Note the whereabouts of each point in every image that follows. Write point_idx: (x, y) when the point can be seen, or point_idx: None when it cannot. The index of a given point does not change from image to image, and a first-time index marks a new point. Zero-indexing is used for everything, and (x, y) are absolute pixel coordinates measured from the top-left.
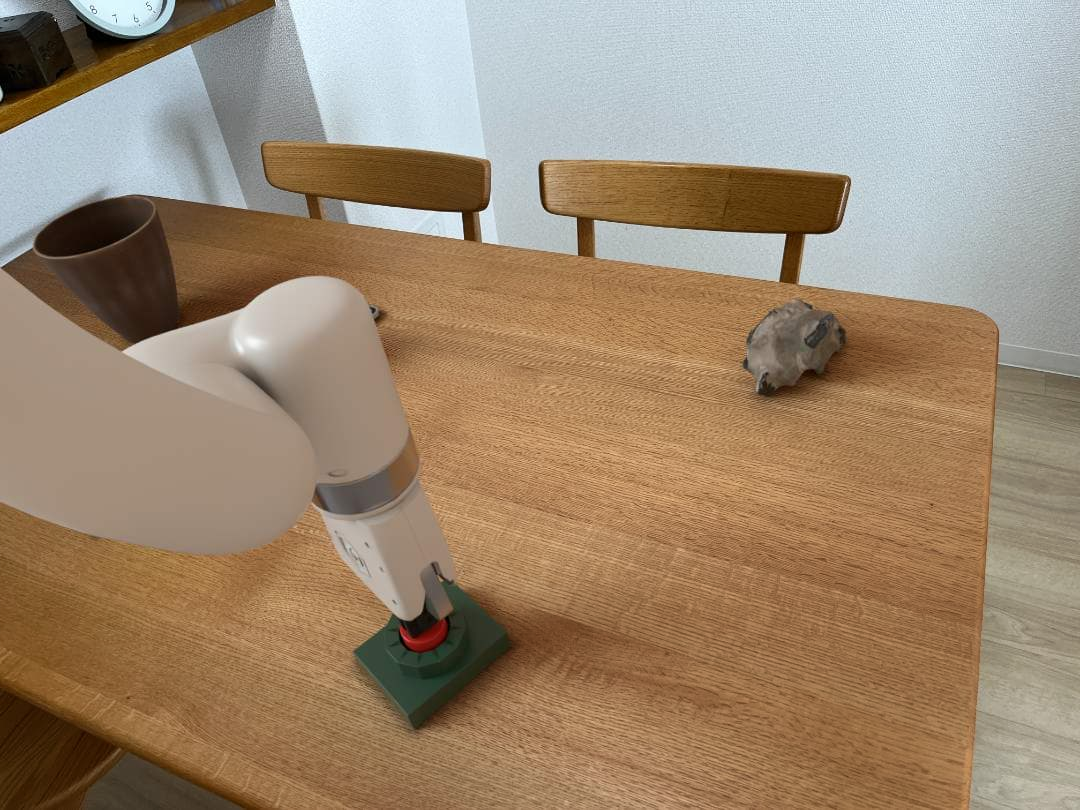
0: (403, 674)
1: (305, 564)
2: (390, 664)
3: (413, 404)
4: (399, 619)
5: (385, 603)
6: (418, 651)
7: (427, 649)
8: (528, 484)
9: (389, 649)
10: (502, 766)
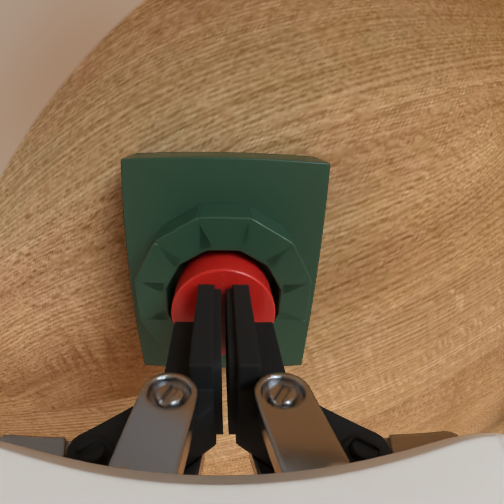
0: (201, 204)
1: (495, 219)
2: (241, 199)
3: (482, 404)
4: (236, 309)
5: (40, 486)
6: (193, 262)
7: (179, 279)
8: None
9: (242, 223)
10: (20, 220)
